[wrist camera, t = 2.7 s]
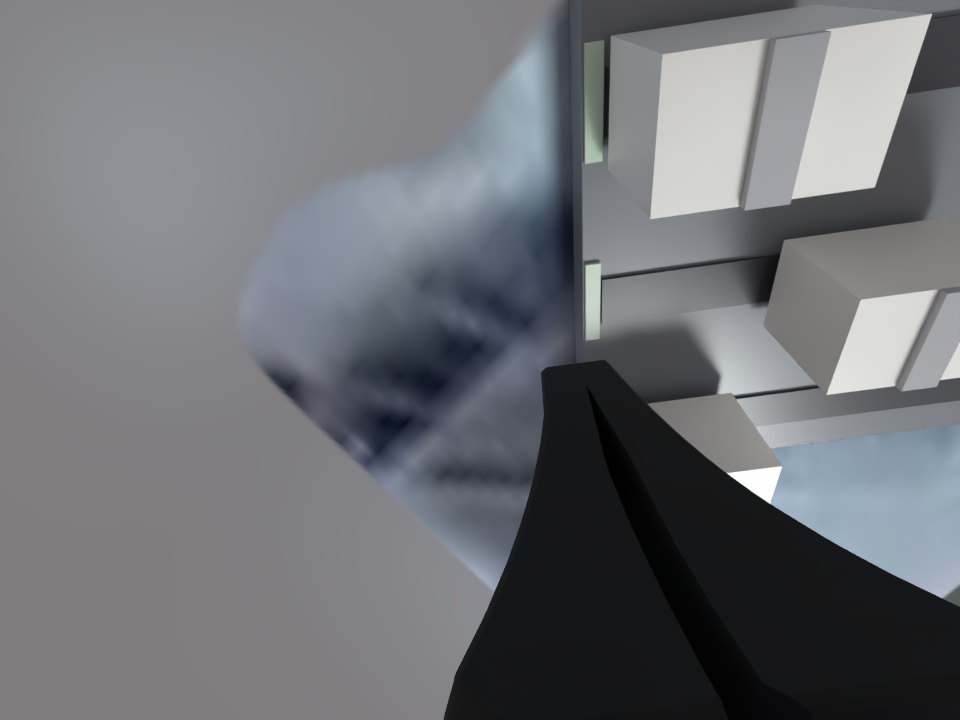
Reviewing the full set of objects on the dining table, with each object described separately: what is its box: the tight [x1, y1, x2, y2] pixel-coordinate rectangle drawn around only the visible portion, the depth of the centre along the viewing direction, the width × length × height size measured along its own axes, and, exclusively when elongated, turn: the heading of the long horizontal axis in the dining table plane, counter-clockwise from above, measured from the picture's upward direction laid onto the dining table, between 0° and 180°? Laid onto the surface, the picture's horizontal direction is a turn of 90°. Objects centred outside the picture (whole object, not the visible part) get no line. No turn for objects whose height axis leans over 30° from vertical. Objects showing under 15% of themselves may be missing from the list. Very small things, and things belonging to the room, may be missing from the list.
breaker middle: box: [763, 218, 960, 395], centre depth 13 cm, size 3×4×3 cm, turn 97°
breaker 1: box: [608, 5, 932, 219], centre depth 10 cm, size 3×4×3 cm, turn 97°
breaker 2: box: [648, 393, 782, 503], centre depth 16 cm, size 3×4×3 cm, turn 97°
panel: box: [569, 0, 960, 448], centre depth 15 cm, size 14×14×1 cm
